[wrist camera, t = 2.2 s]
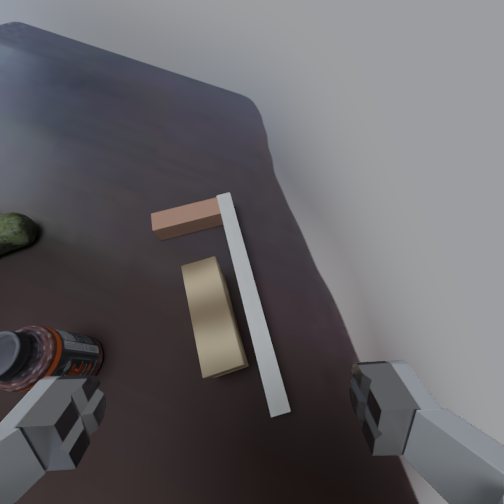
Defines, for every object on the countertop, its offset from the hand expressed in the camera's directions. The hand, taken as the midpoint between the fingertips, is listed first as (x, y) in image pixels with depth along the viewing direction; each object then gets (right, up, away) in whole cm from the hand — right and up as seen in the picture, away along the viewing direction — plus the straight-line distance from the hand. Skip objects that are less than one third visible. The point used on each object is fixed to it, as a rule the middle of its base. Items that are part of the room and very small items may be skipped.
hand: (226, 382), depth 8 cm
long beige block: (-3, -5, +25) cm, 25 cm away
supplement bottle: (-21, -10, +24) cm, 33 cm away
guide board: (-4, -2, +26) cm, 26 cm away
